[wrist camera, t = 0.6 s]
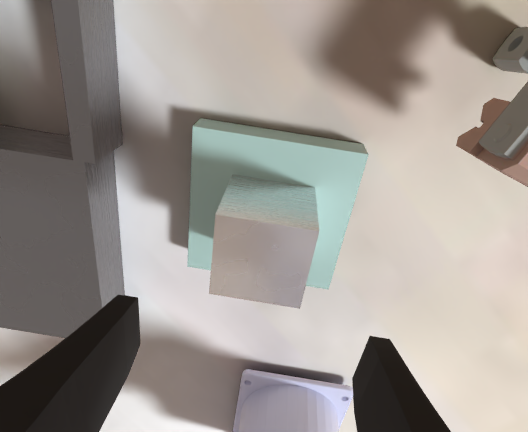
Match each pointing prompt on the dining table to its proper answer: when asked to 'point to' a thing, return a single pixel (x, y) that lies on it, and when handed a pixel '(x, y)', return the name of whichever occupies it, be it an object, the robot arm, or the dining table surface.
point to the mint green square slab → (276, 169)
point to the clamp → (504, 117)
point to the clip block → (264, 241)
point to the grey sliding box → (65, 188)
